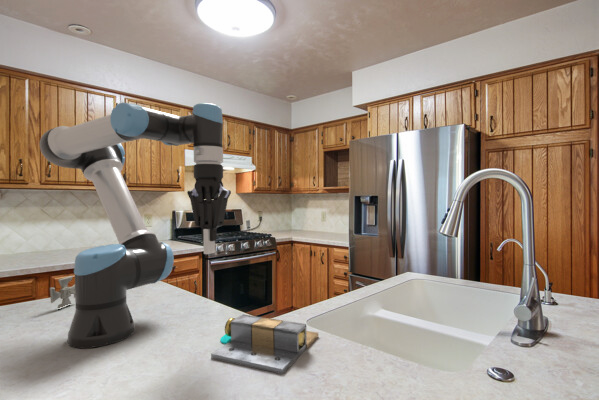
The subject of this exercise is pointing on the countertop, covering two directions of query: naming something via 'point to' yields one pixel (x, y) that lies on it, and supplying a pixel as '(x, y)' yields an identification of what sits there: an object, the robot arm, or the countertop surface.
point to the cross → (63, 292)
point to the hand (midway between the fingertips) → (209, 253)
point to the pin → (228, 323)
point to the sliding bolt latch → (264, 343)
